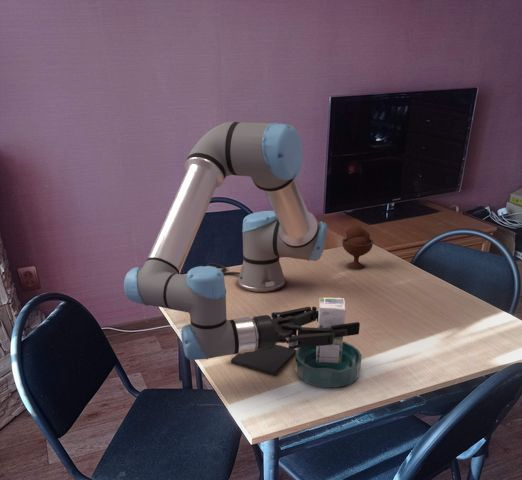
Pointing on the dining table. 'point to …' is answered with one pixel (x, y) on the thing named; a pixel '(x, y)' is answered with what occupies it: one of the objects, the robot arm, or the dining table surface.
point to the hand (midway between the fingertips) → (350, 320)
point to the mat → (265, 359)
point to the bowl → (328, 367)
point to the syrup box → (329, 316)
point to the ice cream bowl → (357, 244)
